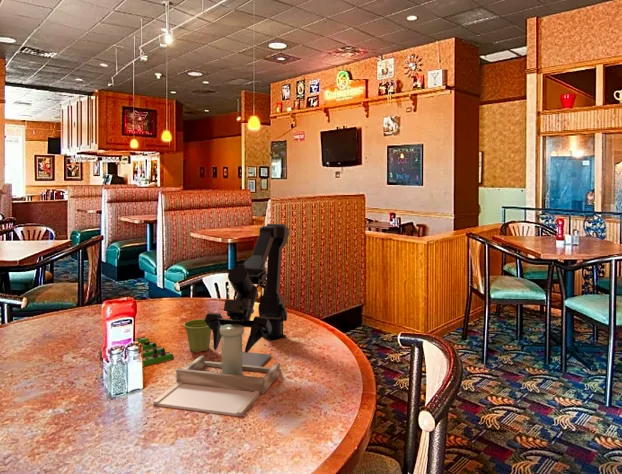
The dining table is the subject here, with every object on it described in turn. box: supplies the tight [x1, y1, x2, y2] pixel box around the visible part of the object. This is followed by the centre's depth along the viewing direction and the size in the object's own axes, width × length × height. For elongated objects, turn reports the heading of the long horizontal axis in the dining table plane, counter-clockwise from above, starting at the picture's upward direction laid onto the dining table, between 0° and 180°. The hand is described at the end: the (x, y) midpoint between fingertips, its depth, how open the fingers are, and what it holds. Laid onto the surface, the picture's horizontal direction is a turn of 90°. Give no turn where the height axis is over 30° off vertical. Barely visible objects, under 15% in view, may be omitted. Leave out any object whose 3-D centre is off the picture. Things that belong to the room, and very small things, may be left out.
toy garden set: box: [98, 336, 175, 367], centre depth 155 cm, size 23×19×5 cm
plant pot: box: [183, 318, 212, 353], centre depth 160 cm, size 9×9×9 cm
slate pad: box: [242, 351, 272, 367], centre depth 150 cm, size 11×11×1 cm
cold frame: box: [175, 355, 282, 395], centre depth 138 cm, size 15×24×4 cm, turn 76°
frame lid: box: [152, 381, 260, 418], centre depth 124 cm, size 12×23×1 cm, turn 76°
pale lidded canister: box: [220, 324, 245, 376], centre depth 139 cm, size 7×7×14 cm
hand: (230, 350), depth 137 cm, fingers open, 9 cm apart
